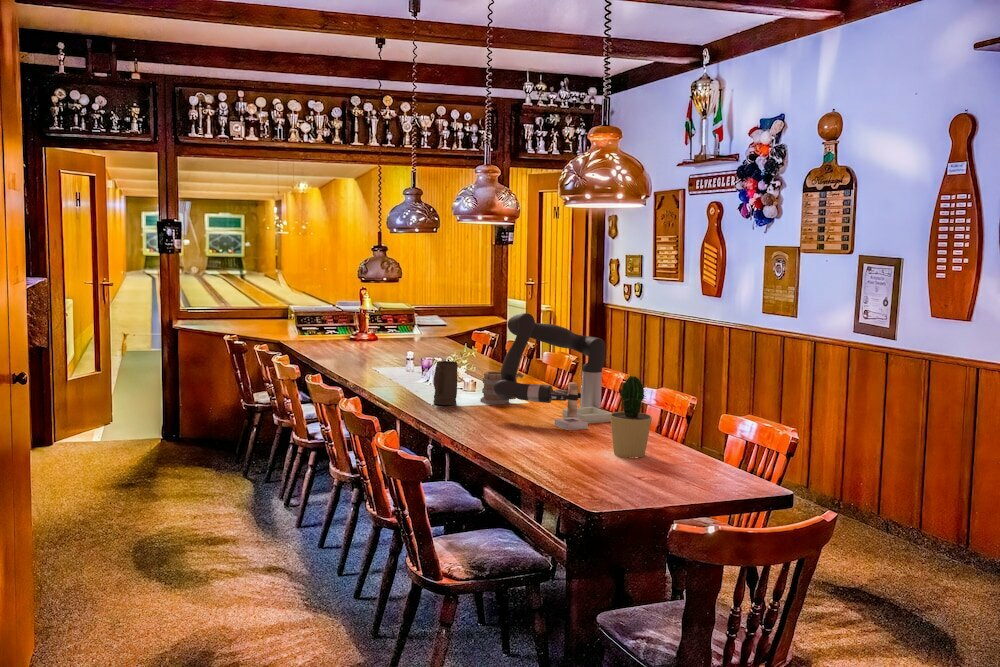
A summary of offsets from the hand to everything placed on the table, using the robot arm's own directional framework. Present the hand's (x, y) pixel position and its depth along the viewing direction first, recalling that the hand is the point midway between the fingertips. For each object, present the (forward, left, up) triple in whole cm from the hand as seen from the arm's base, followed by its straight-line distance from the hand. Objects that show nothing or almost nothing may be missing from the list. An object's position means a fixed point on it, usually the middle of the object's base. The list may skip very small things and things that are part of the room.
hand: (579, 396), depth 389 cm
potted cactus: (+47, -9, -13) cm, 50 cm away
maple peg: (-2, -2, -9) cm, 9 cm away
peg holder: (-2, -2, -13) cm, 14 cm away
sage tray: (-14, +15, -13) cm, 24 cm away
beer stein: (-66, -30, -14) cm, 74 cm away
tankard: (-62, -1, -14) cm, 64 cm away
